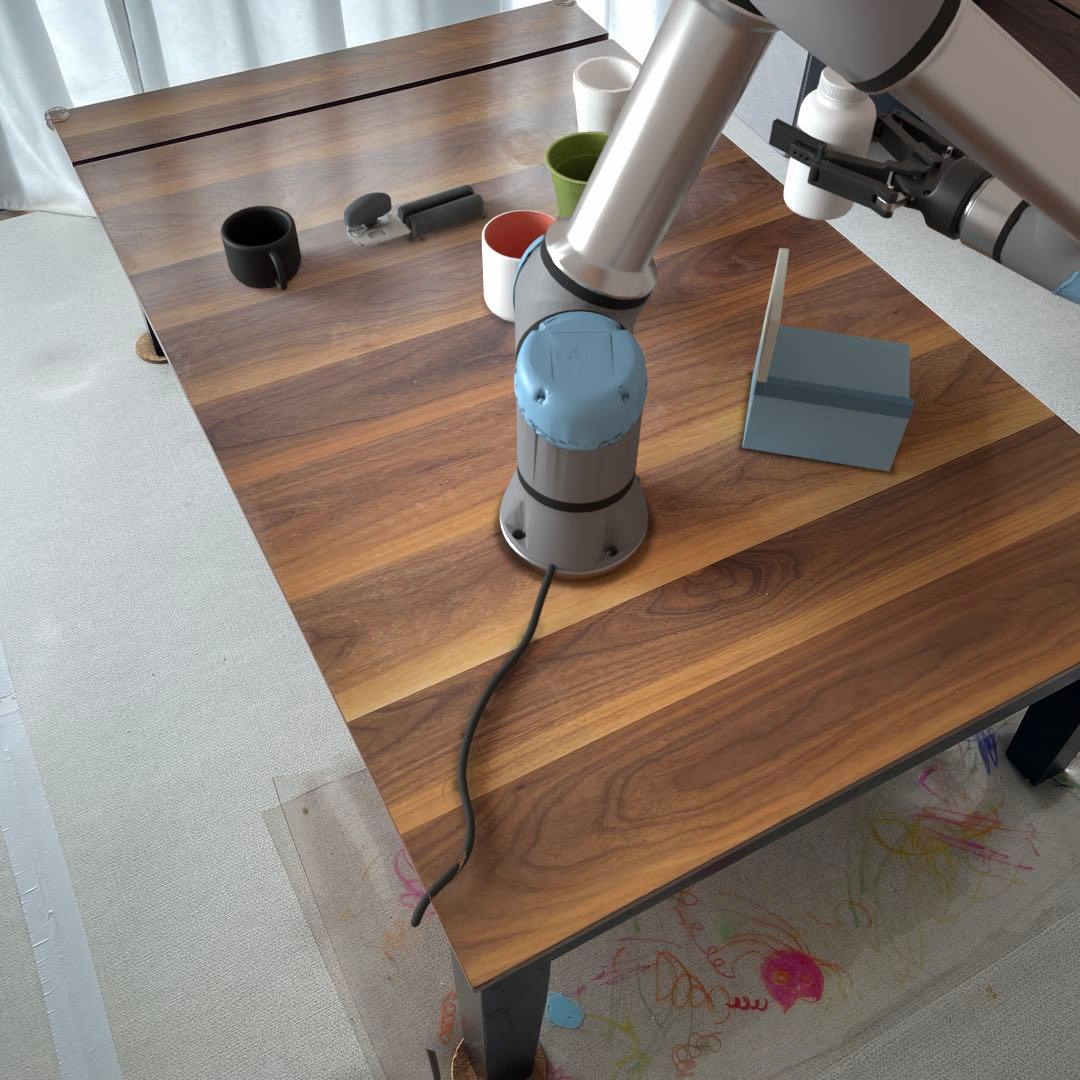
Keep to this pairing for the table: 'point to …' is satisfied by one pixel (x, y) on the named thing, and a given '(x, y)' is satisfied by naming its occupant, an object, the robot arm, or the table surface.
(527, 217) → the cup
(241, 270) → the mug
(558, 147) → the plant pot
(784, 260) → the bookend
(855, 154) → the pill bottle
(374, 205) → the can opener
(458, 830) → the table surface
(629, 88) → the foam cup
